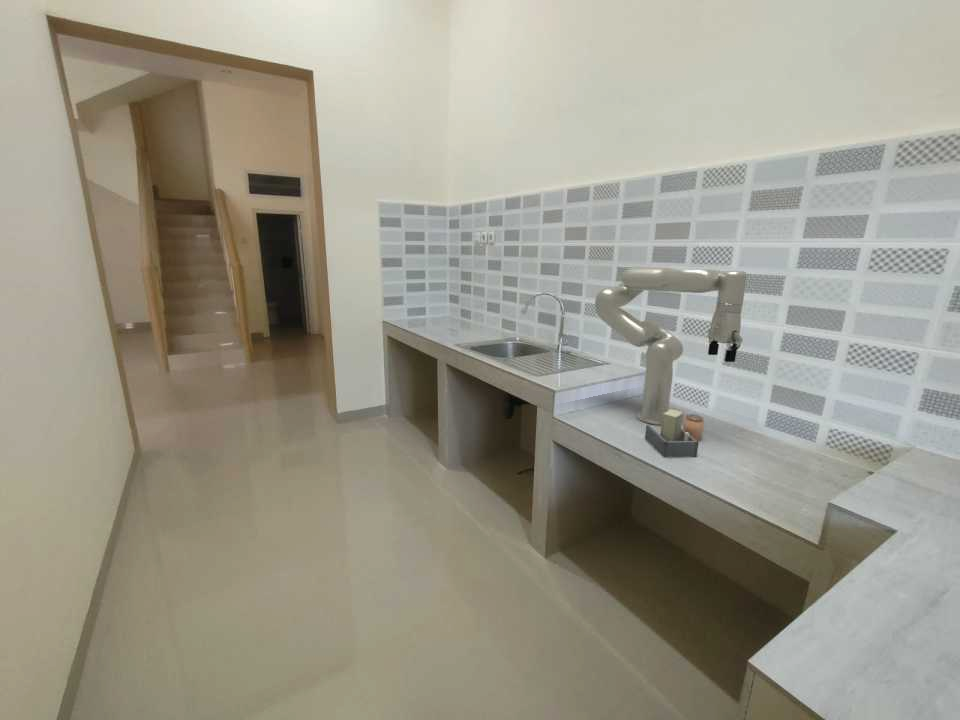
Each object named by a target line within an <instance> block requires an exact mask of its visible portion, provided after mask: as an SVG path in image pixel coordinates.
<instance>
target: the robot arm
mask: <svg viewBox="0 0 960 720" xmlns="http://www.w3.org/2000/svg"><path fill="white" fill-rule="evenodd" d="M747 280H748V274H747V272H746V271H743V270H719V269H718V270H717V269H673V268H671V267H651V266H650V267H646V266H644V267H643V266H637V267H636V266H635V267H633V266H632V267H629V268H627V269H625V271H624V272H623V273H622V276H621V282H620V283H619V284H618V285H617V286H616V285H615V286H608V287H606V288H603V289H601V290H600V291H599V292H598V293H597V295H596V296H595V300H594V302H595V303H594V307H595V312H596V313H597V315H598V317H599V319H600V320H602V322H604V323H605V324H606V325H608V327H610V328H612V329H613V330H614V331H615V332H616V333H618V335H620V336H621V337H622V338H624V339H625V340H626V341H628V343H630V345H633V346H634V347H636V348H637V347H638V348H641V347H642V348H643V347H645V346H647V349H646V353H645V378H644V386H643V395H642V403H641V404H640V406H641V411H638V412H637V413H636V418H637V419H638V420H639V421H641V422H643V423H644V424H645V423H646V424H648V425H655V426H662V419H663V413H665V412H666V411H668V410H669V407H670V400H671V391H672V383H673V371H674V370H673V362H675V361H676V360H678V359H679V358H680V357H681V356H682V355H683V352H684V347H683V344H682V342H681V340H679V339H678V338H677V337H676V336H675V335H673V334H672V333H670V332H669V331H668V330H666V329H665V328H664V327H662V326H661V325H660V324H658V323H656V322H654V321H653V320H643V321H641V320H639V319H637V318H636V317H634V316H633V315H631V314H630V312H628V311H626V310H625V309H622V307H624V306H626V305H628V304H629V303H630V302H632V301H633V300H634V299H635V298H636V297H638V296H639V295H640V294H641V293H643V292H644V291H653V292H666V293H668V292H673V293H693V294H704V293H710V292H717V299H716V305H715V311H714V312H713V315H712V318H711V323H710V326H709V327H710V328H709V329H708V330H707V332H708V334H707V335H708V336H707V337H708V351H707V355H709V356H717V355H718V352H719V348H720V347H719V346H720V343H721V344H726V347H727V349H726V351H725V354H724V355H725V357H724V362H726V363H731V362H732V363H735V362H736V357H737V351H739V348H740V347H741V345H742V343H743V338H742V336H740V334H741V326H742V325H741V324H742V311H743V306H744V305H743V303H744V299H745V298H744V297H745V292H746V287H747Z"/></svg>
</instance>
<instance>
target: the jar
mask: <svg viewBox="0 0 960 720" xmlns="http://www.w3.org/2000/svg"><path fill="white" fill-rule="evenodd" d="M704 423H705V420H704V417H702V416H701V415H698V414H686V416H685V417H684V422H683V428H682V429H683V430H684V431H685V432H687V433H689V435H690V436H692V437H693V438H694V439H695V440H697V441H698V442H700V440H701V441H702V437H703V430H704V429H703V428H704Z"/></svg>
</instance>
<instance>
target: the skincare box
mask: <svg viewBox="0 0 960 720" xmlns="http://www.w3.org/2000/svg"><path fill="white" fill-rule="evenodd" d="M683 419H684V412H683V411H680V410H675V409H673V408H670V409H668V411H666V412H665V413H663V419H662V425H660V426H661V428H660V433H659V435H661V436H662V437H663V438H664V439H665V440H666V441H679V440H680V433H681V428H682V426H683Z"/></svg>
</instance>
